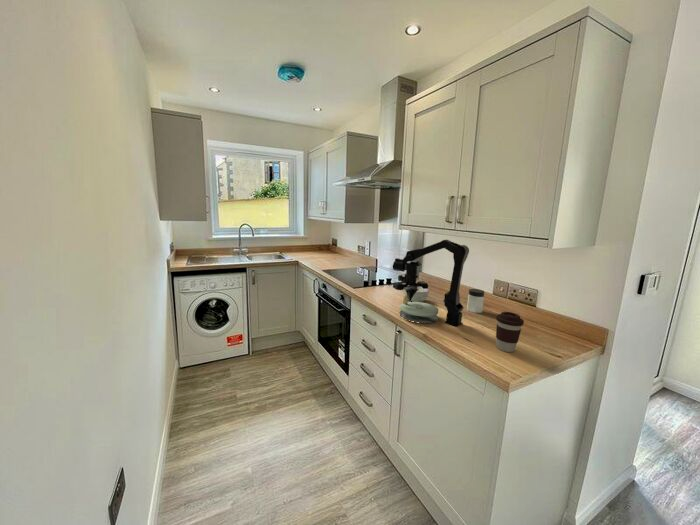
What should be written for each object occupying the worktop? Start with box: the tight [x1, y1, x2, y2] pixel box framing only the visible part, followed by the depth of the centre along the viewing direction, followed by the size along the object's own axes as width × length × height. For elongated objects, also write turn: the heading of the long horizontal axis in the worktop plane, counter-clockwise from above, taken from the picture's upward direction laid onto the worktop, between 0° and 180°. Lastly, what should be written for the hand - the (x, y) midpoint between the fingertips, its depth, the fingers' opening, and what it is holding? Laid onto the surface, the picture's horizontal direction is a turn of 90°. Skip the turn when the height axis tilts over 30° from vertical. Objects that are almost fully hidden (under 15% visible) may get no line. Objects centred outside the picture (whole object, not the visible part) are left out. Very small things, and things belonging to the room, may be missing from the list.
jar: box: [466, 288, 485, 314], centre depth 168 cm, size 9×8×12 cm
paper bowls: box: [403, 285, 430, 303], centre depth 183 cm, size 15×15×8 cm
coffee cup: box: [495, 311, 525, 353], centre depth 121 cm, size 10×10×15 cm
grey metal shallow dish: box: [398, 309, 439, 324], centre depth 154 cm, size 20×20×4 cm
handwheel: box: [399, 294, 439, 317], centre depth 153 cm, size 20×20×6 cm
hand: (409, 300), depth 161 cm, fingers closed
